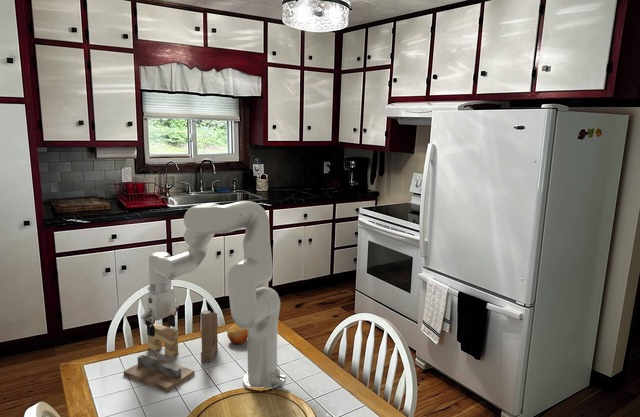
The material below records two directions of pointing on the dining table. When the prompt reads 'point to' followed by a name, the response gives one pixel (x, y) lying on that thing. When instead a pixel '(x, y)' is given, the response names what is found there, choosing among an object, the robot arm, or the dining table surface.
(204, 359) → the wooden block
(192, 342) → the dining table surface
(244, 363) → the dining table surface
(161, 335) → the wooden bridge block
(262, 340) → the robot arm
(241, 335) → the fruit
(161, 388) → the rib board
